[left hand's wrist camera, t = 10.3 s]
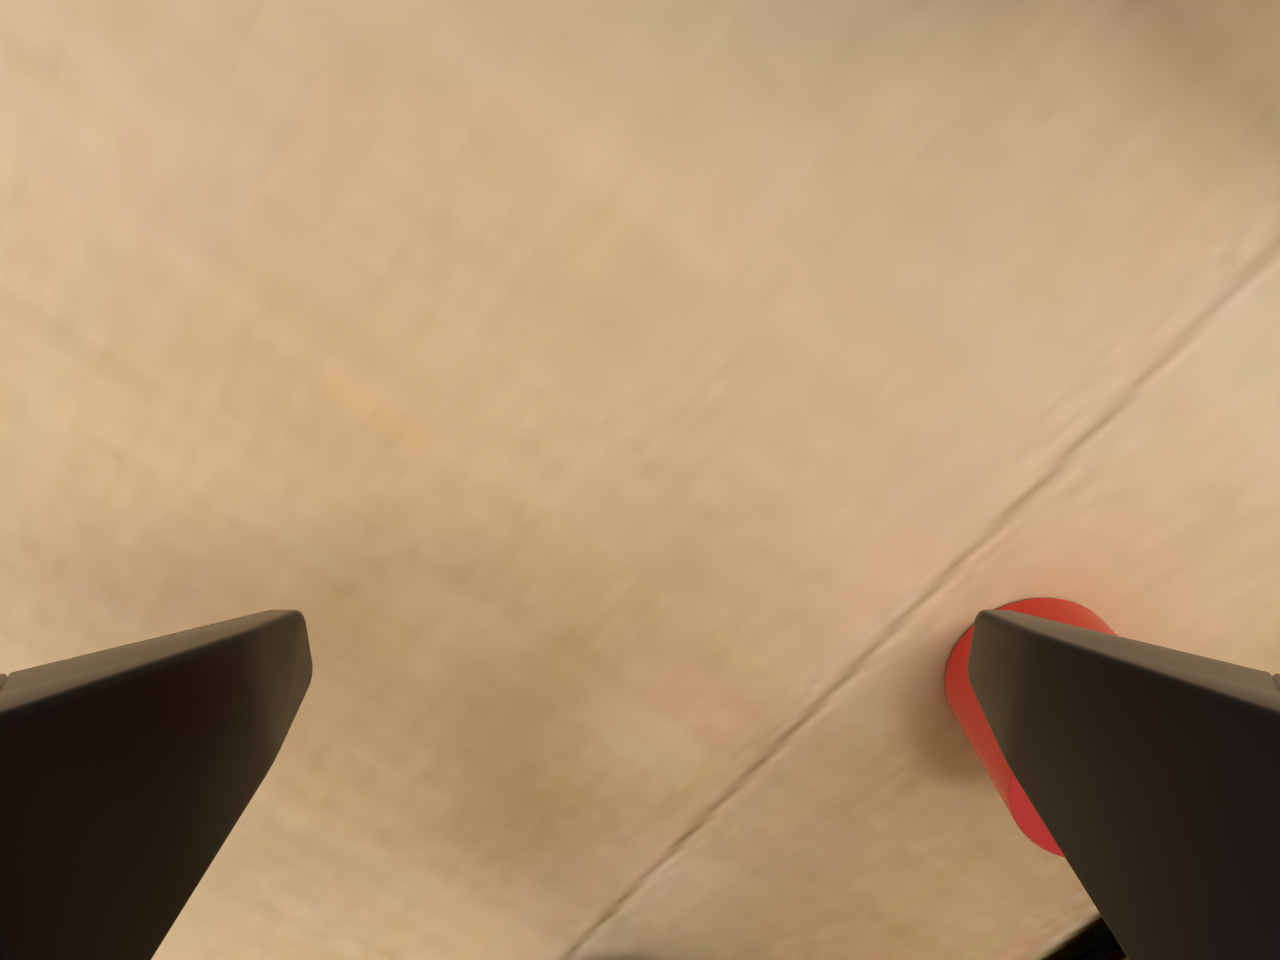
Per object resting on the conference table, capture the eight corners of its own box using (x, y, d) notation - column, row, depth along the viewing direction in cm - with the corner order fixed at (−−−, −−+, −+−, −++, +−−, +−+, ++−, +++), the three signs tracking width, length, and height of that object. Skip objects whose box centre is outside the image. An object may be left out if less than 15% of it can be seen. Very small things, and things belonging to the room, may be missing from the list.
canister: (930, 738, 26) (990, 858, 21) (961, 592, 24) (1034, 690, 19) (1092, 745, 26) (1186, 866, 21) (1136, 601, 24) (1248, 700, 19)
